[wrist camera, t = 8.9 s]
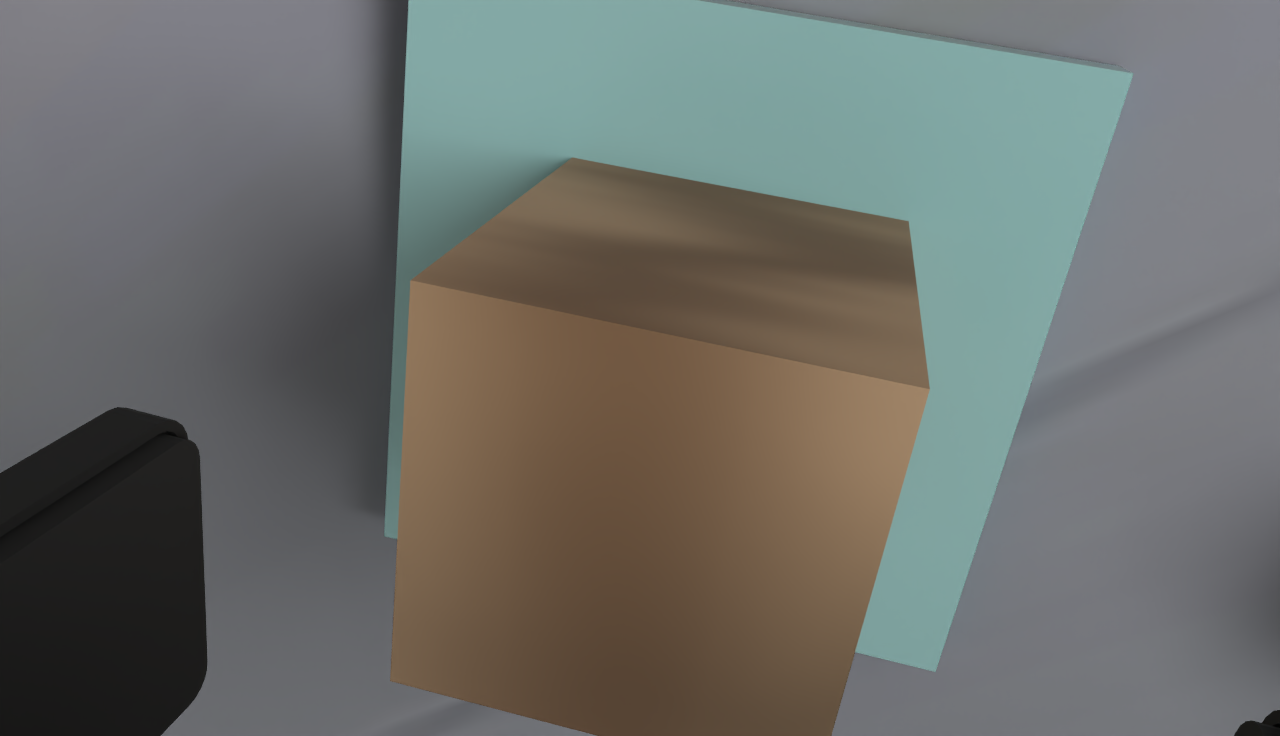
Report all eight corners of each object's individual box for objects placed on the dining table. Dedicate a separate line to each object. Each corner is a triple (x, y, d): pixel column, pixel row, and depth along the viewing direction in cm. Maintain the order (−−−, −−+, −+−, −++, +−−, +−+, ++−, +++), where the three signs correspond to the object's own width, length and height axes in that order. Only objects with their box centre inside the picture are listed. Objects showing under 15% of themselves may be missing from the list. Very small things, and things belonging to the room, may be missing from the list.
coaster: (1120, 66, 14) (1133, 73, 13) (933, 642, 18) (935, 672, 18) (432, -49, 15) (410, -48, 15) (402, 514, 20) (384, 536, 19)
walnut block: (908, 221, 15) (929, 390, 9) (833, 516, 17) (814, 793, 11) (572, 157, 15) (410, 280, 10) (539, 448, 17) (389, 680, 12)
